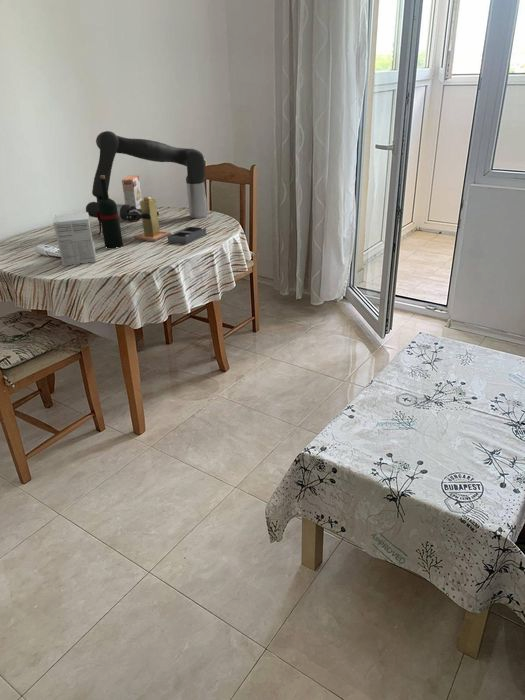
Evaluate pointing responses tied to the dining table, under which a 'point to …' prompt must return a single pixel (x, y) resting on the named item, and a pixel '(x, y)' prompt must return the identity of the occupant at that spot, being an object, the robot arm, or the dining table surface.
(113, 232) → the wine bottle
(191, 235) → the grey tray with studs
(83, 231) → the supplement box
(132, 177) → the cracker box
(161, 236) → the terracotta dish
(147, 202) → the tan tall block
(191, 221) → the dining table surface
